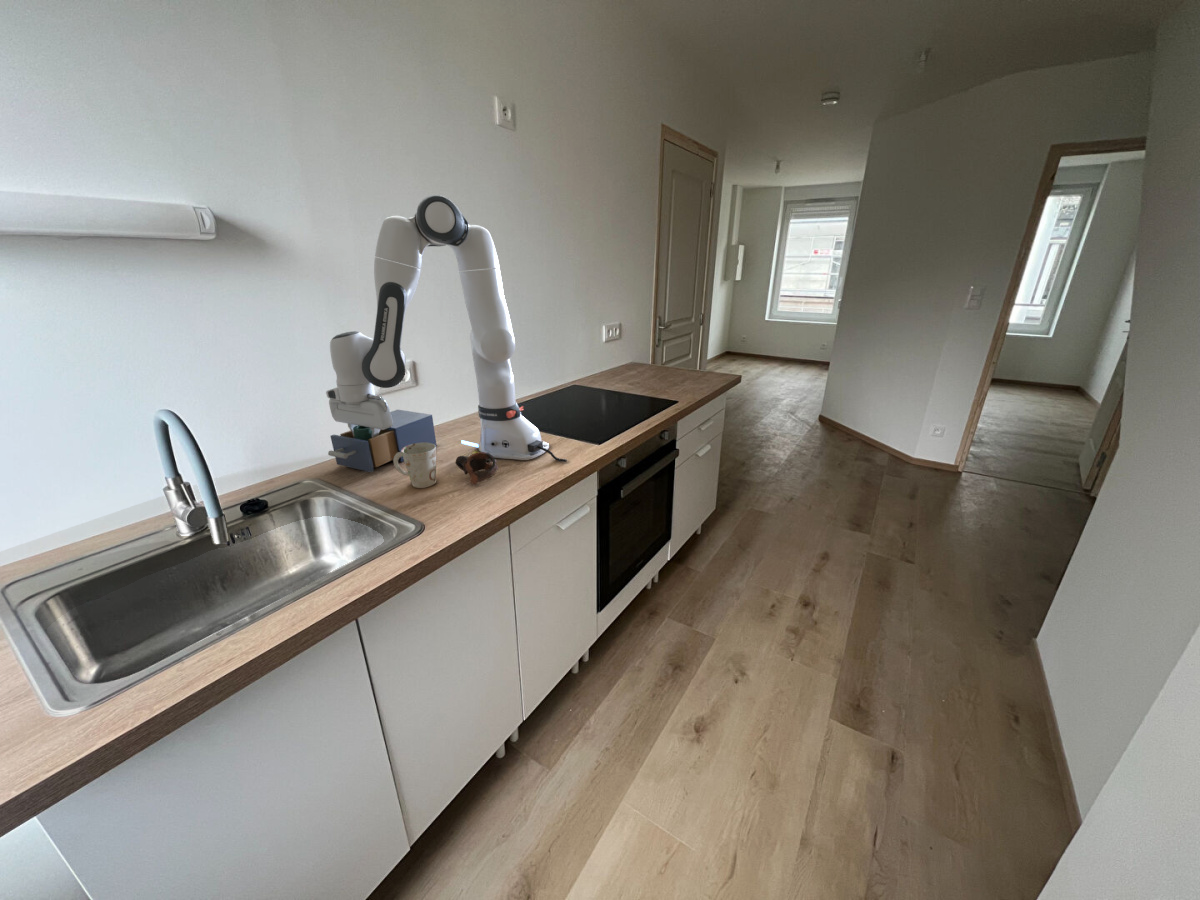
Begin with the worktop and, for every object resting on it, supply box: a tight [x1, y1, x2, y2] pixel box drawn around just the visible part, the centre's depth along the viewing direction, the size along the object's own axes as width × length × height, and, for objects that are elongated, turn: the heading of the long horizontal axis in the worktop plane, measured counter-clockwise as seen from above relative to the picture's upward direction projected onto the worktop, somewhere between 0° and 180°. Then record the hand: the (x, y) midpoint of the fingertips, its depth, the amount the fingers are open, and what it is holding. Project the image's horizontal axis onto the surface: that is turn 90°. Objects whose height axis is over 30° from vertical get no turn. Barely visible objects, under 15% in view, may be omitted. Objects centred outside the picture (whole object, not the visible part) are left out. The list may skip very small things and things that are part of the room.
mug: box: [392, 443, 437, 489], centre depth 118 cm, size 8×13×10 cm, turn 78°
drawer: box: [327, 429, 398, 473], centre depth 129 cm, size 18×13×9 cm
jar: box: [353, 425, 372, 451], centre depth 129 cm, size 5×5×6 cm
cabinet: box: [387, 409, 438, 463], centre depth 140 cm, size 15×15×11 cm
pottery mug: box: [455, 451, 500, 486], centre depth 122 cm, size 12×10×8 cm
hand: (366, 439), depth 130 cm, fingers closed on jar, 5 cm apart
